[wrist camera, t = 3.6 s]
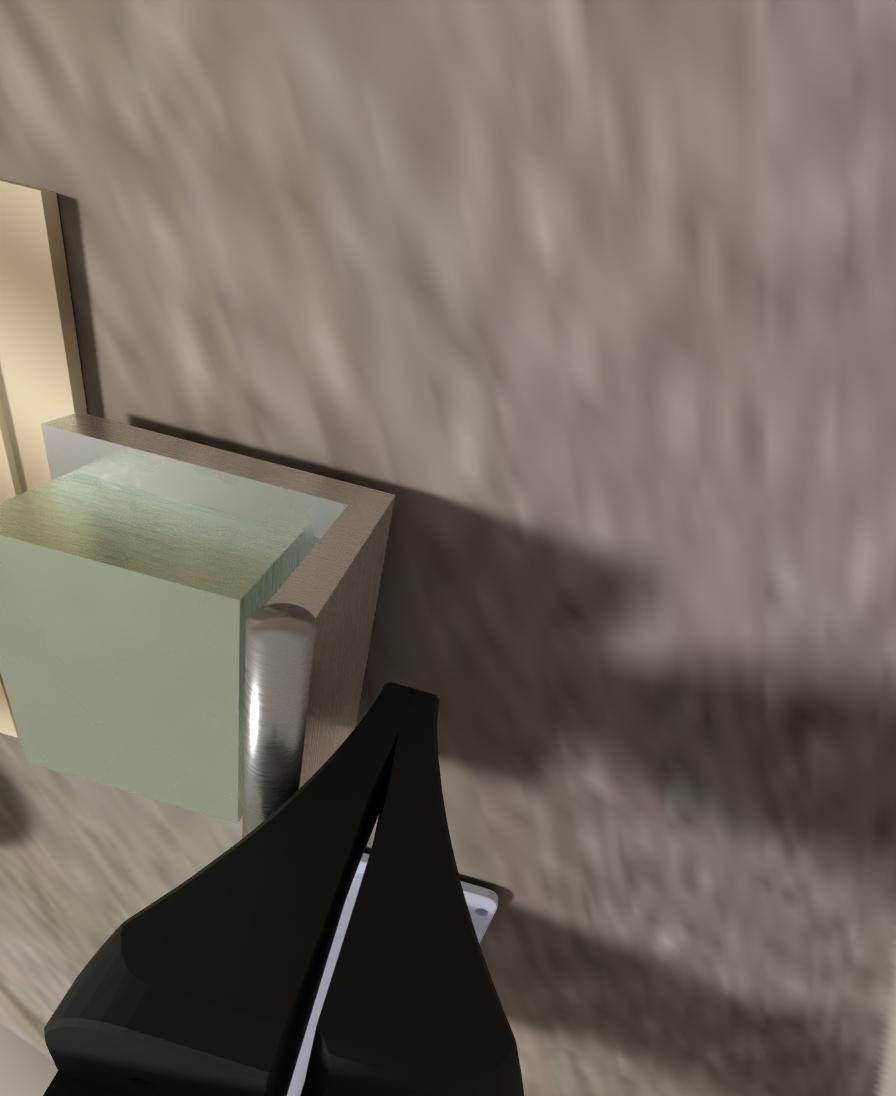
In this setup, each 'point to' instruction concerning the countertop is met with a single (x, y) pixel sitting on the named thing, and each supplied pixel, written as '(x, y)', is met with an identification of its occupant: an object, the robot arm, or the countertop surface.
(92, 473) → the green and grey box
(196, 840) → the countertop surface
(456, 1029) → the robot arm
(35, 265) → the dock
